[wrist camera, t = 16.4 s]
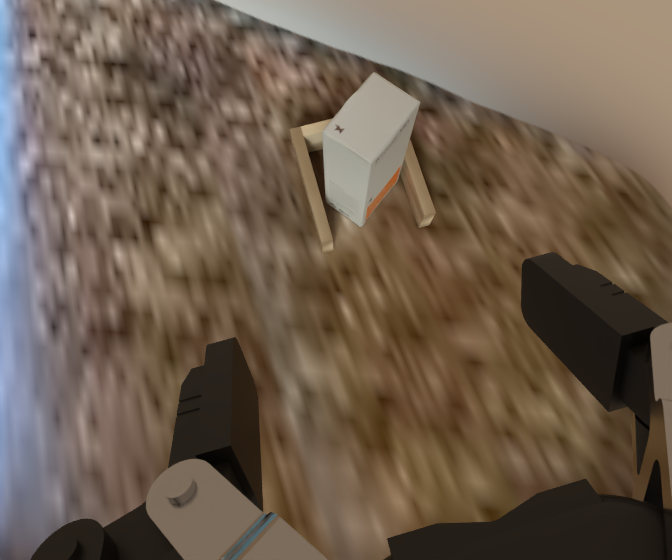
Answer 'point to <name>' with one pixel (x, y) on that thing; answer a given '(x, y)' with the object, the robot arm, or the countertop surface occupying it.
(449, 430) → the countertop surface
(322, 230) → the u-shaped wooden frame
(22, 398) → the countertop surface
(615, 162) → the countertop surface
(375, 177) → the skincare box
